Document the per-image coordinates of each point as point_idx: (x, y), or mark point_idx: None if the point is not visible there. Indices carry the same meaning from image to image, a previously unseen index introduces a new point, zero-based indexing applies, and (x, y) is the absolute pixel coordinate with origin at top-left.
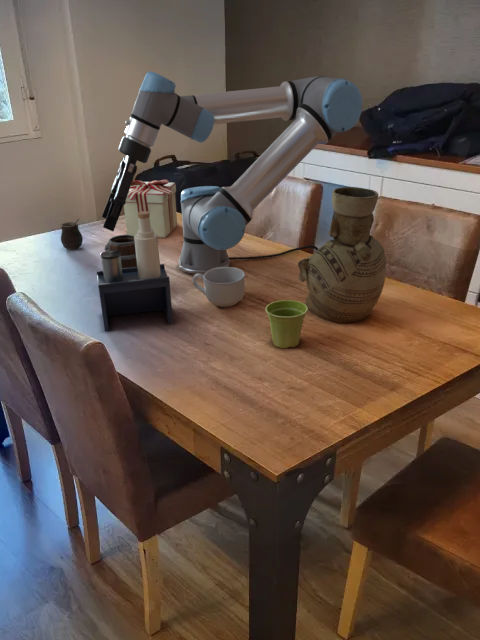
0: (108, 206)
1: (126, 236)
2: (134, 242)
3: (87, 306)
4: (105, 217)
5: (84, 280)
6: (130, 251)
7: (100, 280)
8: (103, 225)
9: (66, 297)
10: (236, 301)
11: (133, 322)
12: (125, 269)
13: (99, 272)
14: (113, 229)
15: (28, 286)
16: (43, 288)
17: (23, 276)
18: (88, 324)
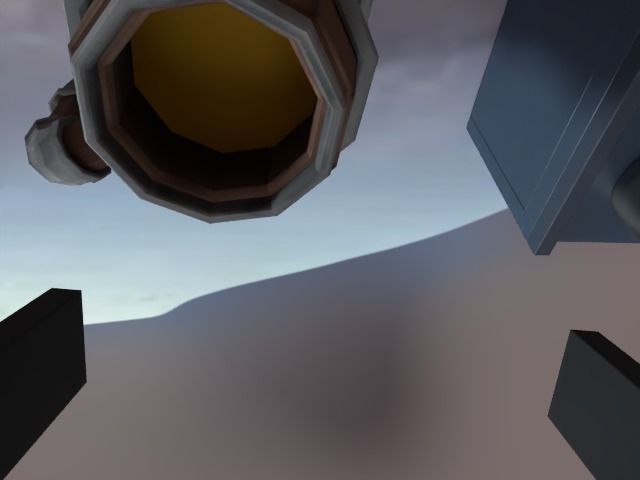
0: (6, 443)
1: (95, 81)
2: (315, 31)
3: (353, 171)
4: (79, 355)
5: None
6: (348, 57)
7: (613, 233)
8: (558, 424)
9: (243, 225)
10: None
11: None
12: (627, 122)
13: (554, 243)
14: (606, 346)
15: (123, 308)
16: (145, 278)
17: None
18: None
